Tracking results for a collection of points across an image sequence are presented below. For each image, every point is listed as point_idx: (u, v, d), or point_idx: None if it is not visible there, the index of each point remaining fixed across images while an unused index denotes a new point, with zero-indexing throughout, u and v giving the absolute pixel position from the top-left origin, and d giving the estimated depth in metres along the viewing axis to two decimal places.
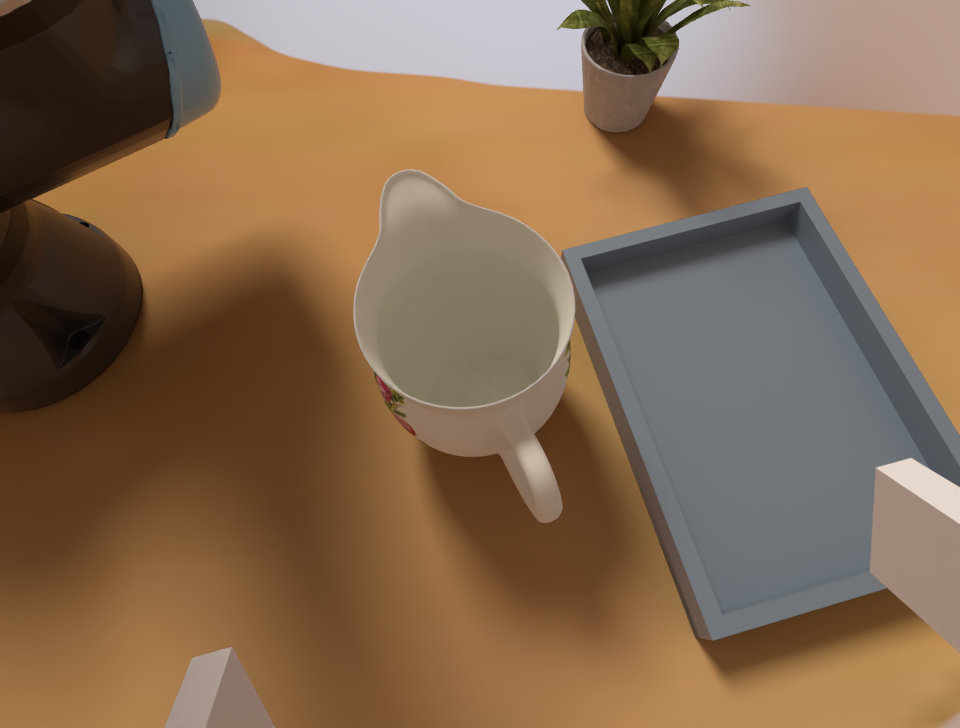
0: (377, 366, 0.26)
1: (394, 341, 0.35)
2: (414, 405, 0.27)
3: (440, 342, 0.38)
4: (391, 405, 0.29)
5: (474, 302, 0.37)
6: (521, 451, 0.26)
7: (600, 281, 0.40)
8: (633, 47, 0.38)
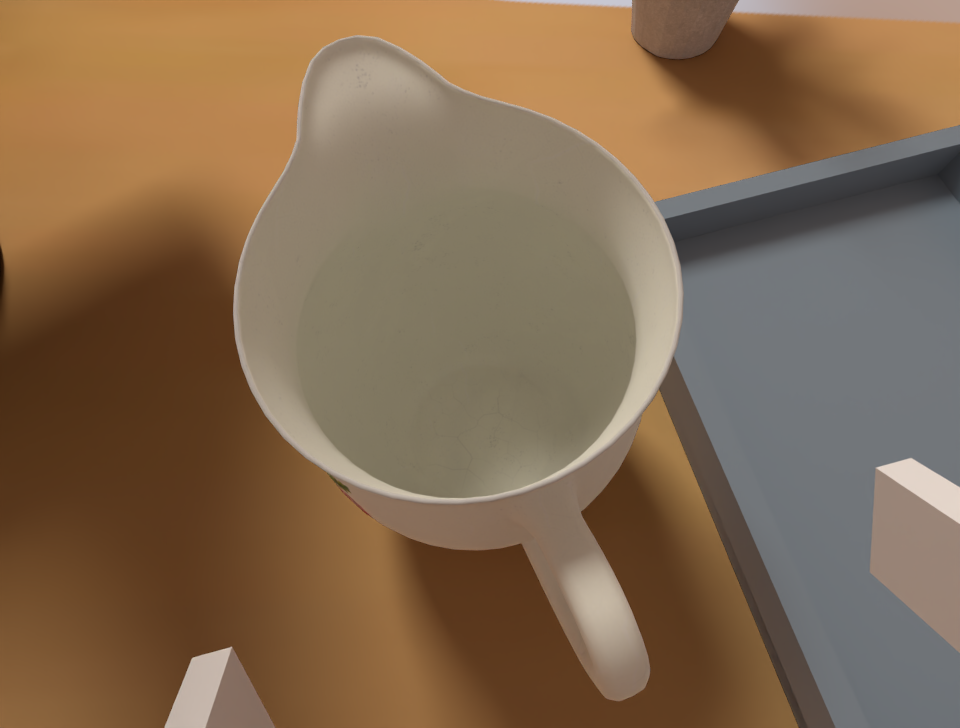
0: (282, 402, 0.13)
1: (347, 351, 0.21)
2: None
3: (426, 352, 0.25)
4: None
5: (477, 290, 0.23)
6: (572, 581, 0.12)
7: None
8: None
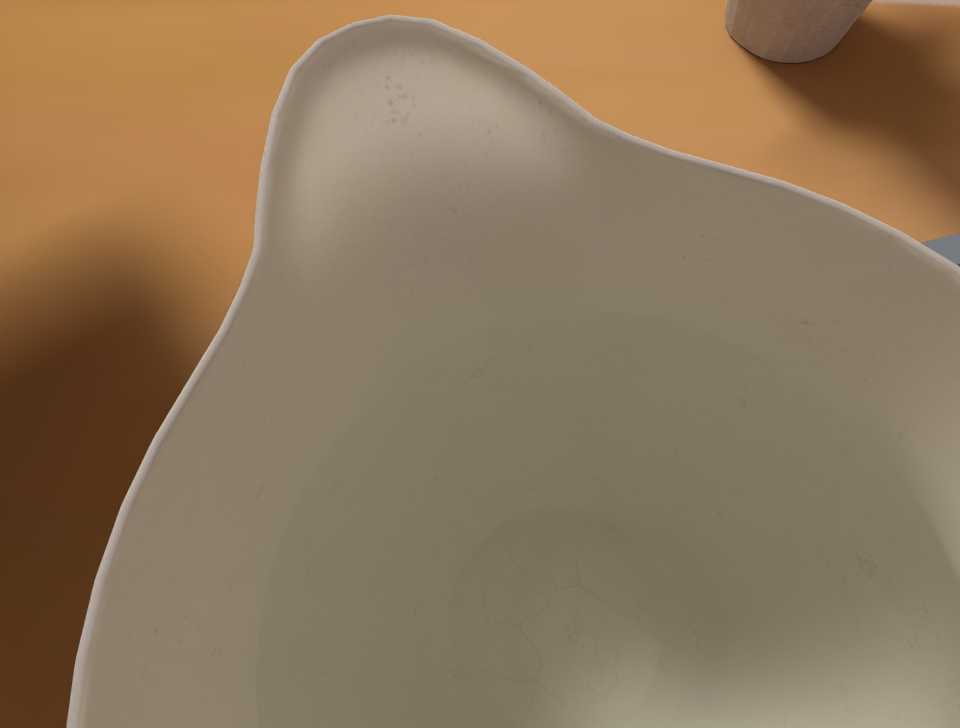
0: None
1: (358, 533, 0.13)
2: None
3: (471, 495, 0.17)
4: None
5: (557, 417, 0.15)
6: None
7: None
8: None
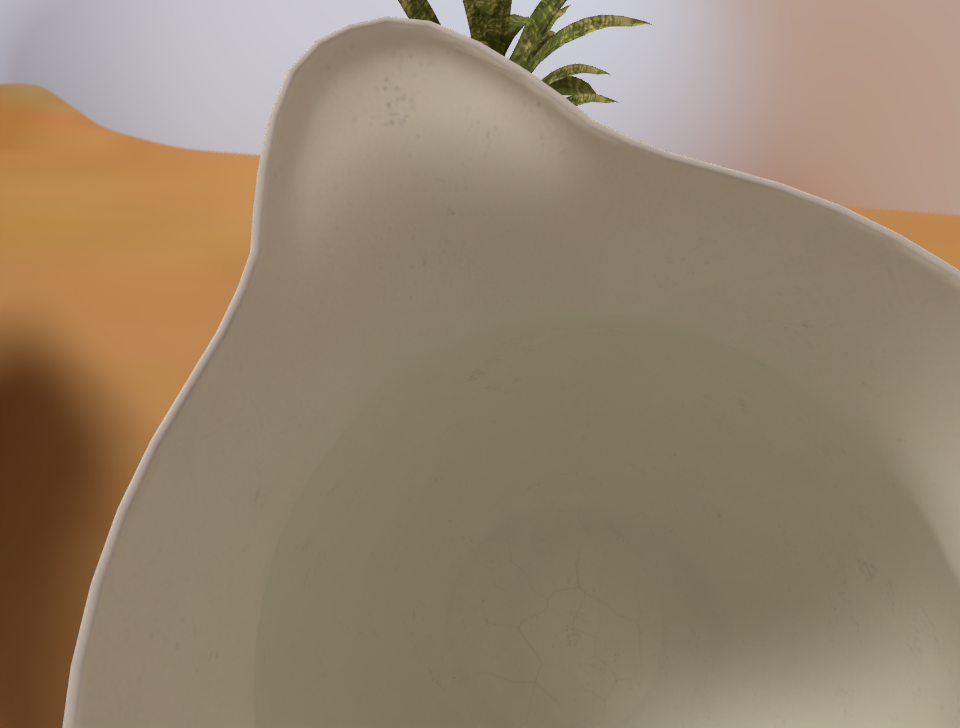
0: None
1: (357, 535, 0.13)
2: None
3: (471, 496, 0.17)
4: None
5: (556, 419, 0.15)
6: None
7: None
8: None
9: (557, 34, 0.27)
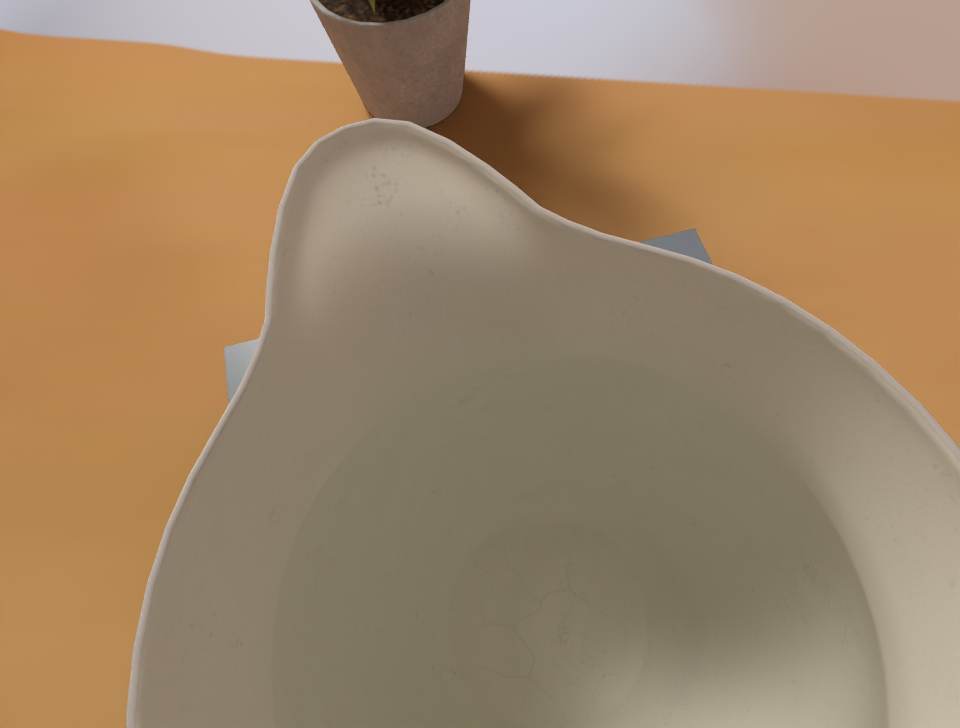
0: None
1: (363, 543, 0.15)
2: None
3: (469, 506, 0.19)
4: None
5: (543, 435, 0.17)
6: None
7: None
8: None
9: None
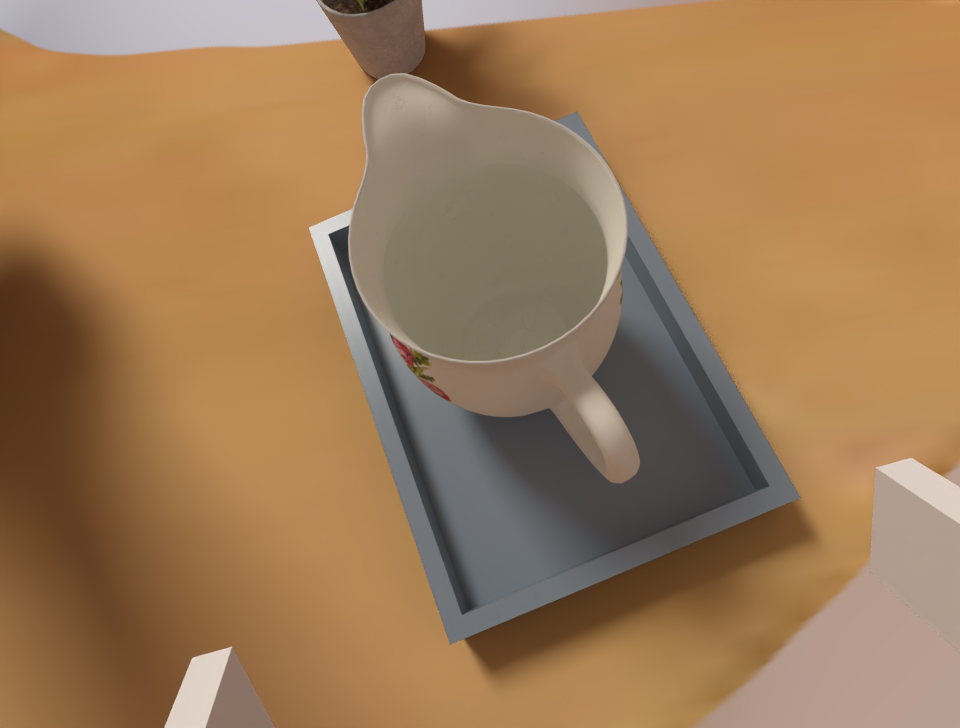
0: (390, 324, 0.21)
1: (408, 295, 0.29)
2: (442, 365, 0.22)
3: (462, 290, 0.33)
4: (415, 369, 0.24)
5: (495, 236, 0.31)
6: (582, 403, 0.21)
7: None
8: None
9: None
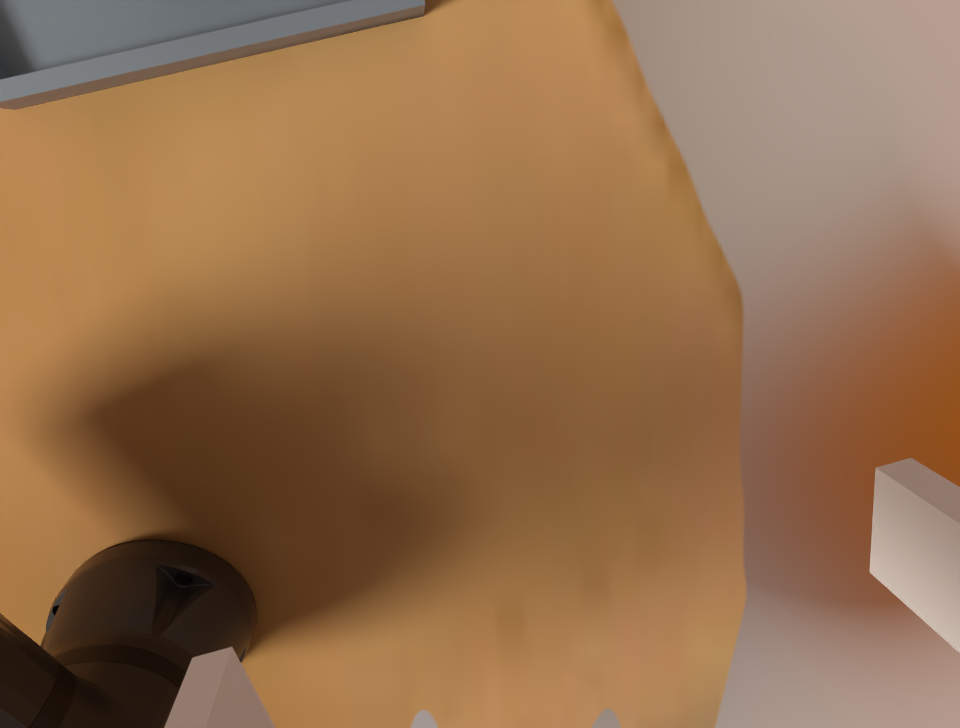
0: None
1: None
2: None
3: None
4: None
5: None
6: None
7: (18, 55, 0.32)
8: None
9: None
